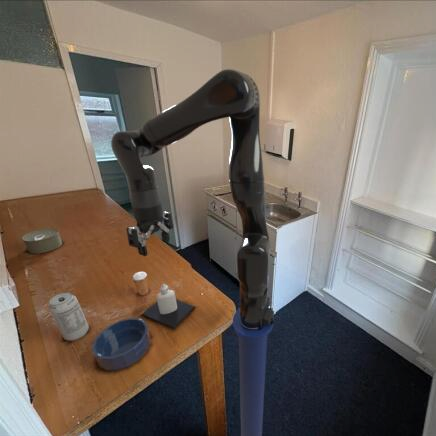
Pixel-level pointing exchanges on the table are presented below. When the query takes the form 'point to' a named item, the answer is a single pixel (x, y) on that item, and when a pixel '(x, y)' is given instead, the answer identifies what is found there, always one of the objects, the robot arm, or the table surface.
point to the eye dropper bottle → (166, 300)
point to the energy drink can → (68, 316)
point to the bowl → (121, 344)
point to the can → (42, 240)
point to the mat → (169, 314)
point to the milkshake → (141, 282)
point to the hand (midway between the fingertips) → (155, 248)
